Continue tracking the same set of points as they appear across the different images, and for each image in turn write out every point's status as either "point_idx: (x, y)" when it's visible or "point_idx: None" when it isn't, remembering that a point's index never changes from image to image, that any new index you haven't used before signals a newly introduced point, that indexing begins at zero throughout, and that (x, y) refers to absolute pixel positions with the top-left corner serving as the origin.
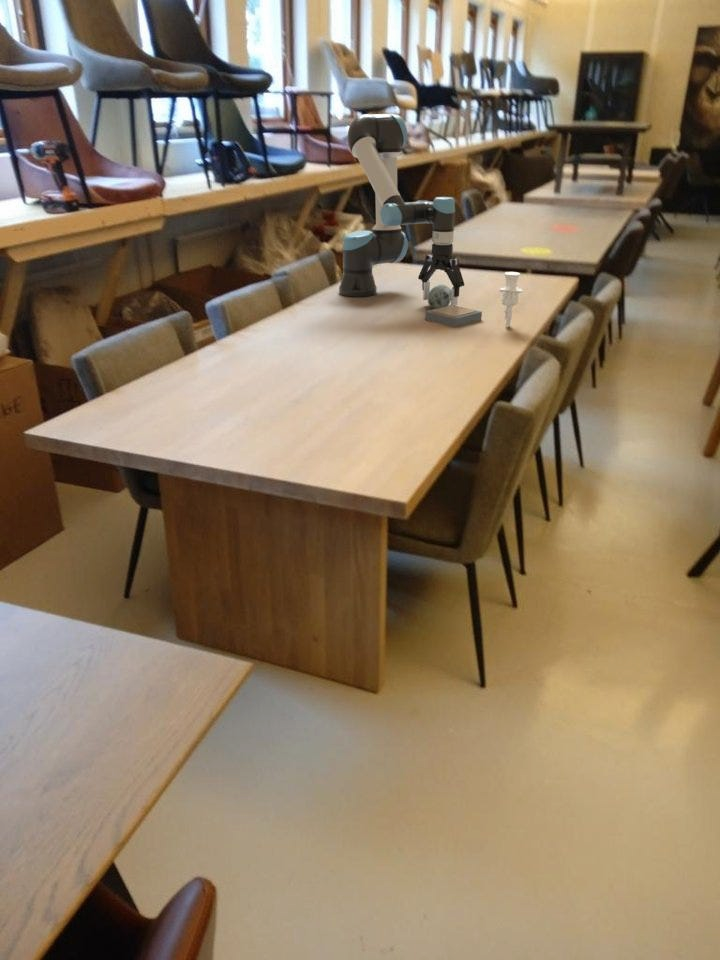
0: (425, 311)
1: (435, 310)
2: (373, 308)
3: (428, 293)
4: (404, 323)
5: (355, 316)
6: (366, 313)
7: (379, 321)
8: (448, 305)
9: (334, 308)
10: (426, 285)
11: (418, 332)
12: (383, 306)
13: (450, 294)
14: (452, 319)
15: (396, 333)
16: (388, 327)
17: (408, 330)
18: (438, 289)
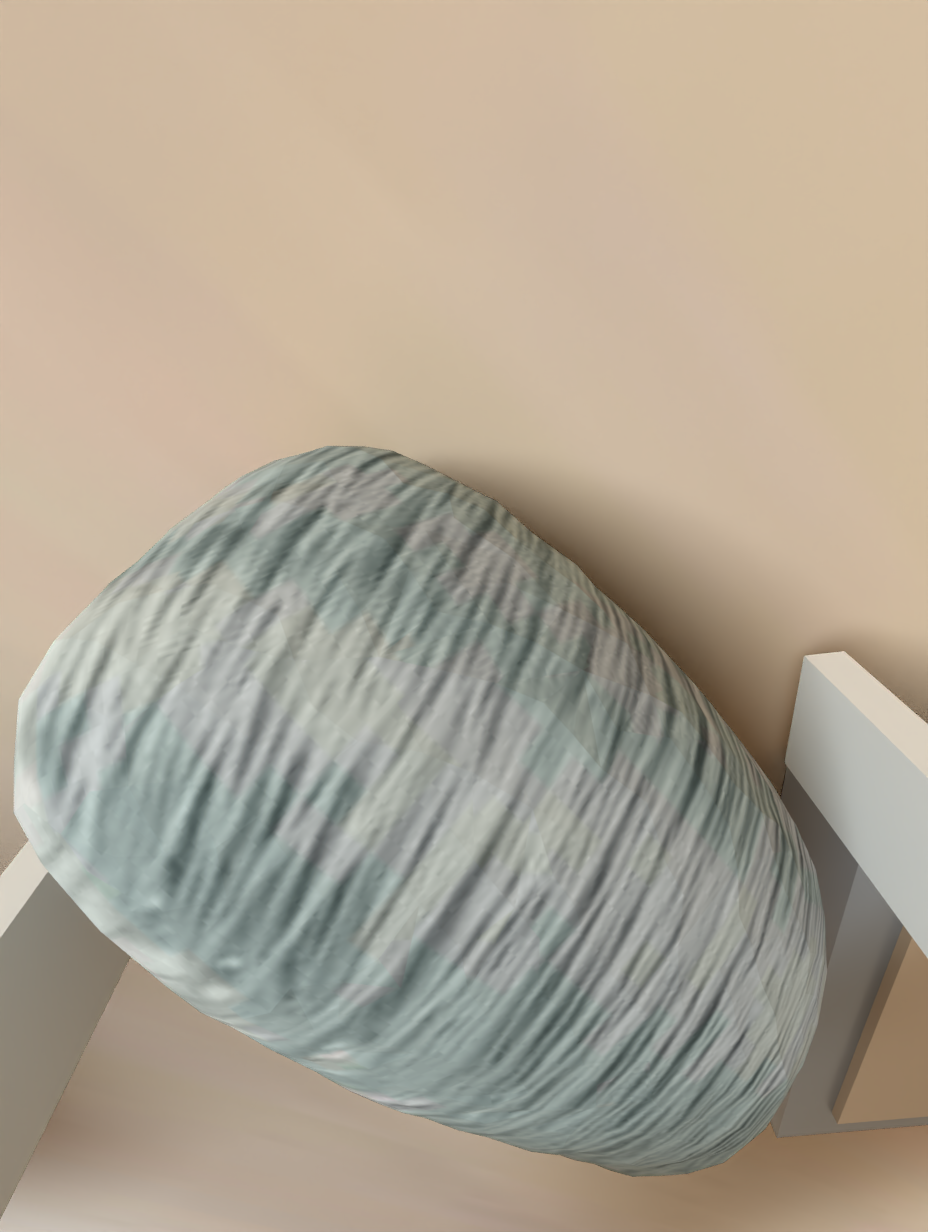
0: (780, 1136)
1: (878, 1105)
2: (115, 1108)
3: None
4: None
5: (297, 1222)
6: (255, 1175)
7: (509, 1194)
8: (851, 887)
9: (5, 1226)
10: (22, 1099)
11: (906, 1167)
12: None
13: (816, 877)
14: None
15: (797, 1222)
16: (666, 1208)
17: (819, 1179)
18: (655, 1166)
